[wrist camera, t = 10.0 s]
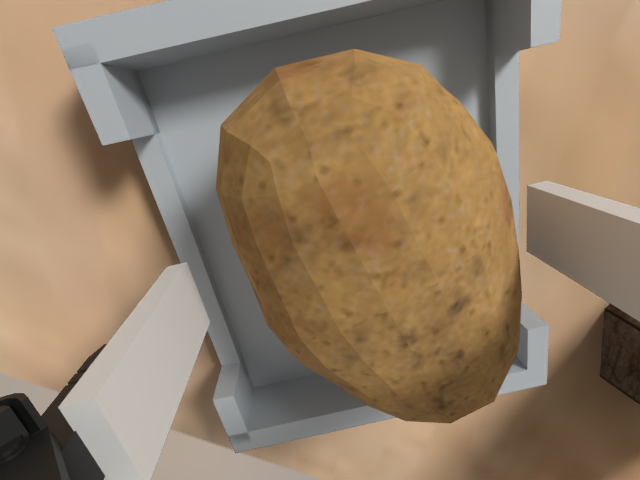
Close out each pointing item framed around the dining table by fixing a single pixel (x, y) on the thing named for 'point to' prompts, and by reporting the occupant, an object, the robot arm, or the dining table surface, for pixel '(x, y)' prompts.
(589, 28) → the dining table surface
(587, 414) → the dining table surface
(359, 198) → the potato
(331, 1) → the light blue shallow tray
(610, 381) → the mug
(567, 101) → the dining table surface
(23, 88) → the dining table surface
